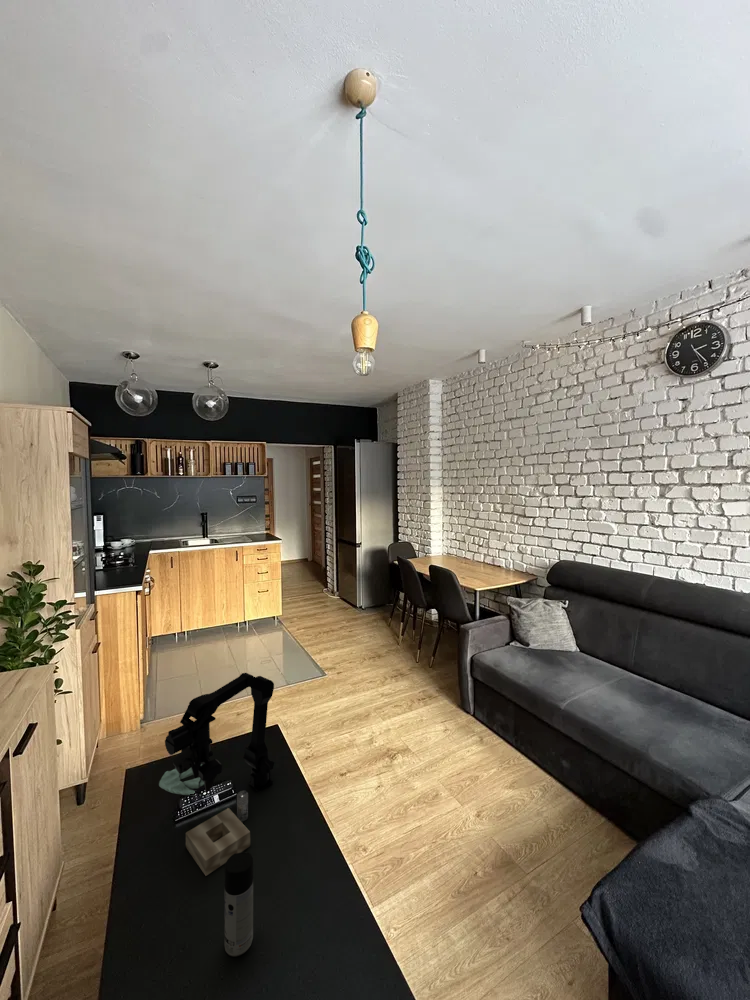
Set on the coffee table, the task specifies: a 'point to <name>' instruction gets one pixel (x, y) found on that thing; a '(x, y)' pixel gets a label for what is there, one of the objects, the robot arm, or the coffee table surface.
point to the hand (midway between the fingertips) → (201, 784)
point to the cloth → (179, 782)
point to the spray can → (238, 904)
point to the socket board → (221, 850)
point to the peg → (242, 805)
